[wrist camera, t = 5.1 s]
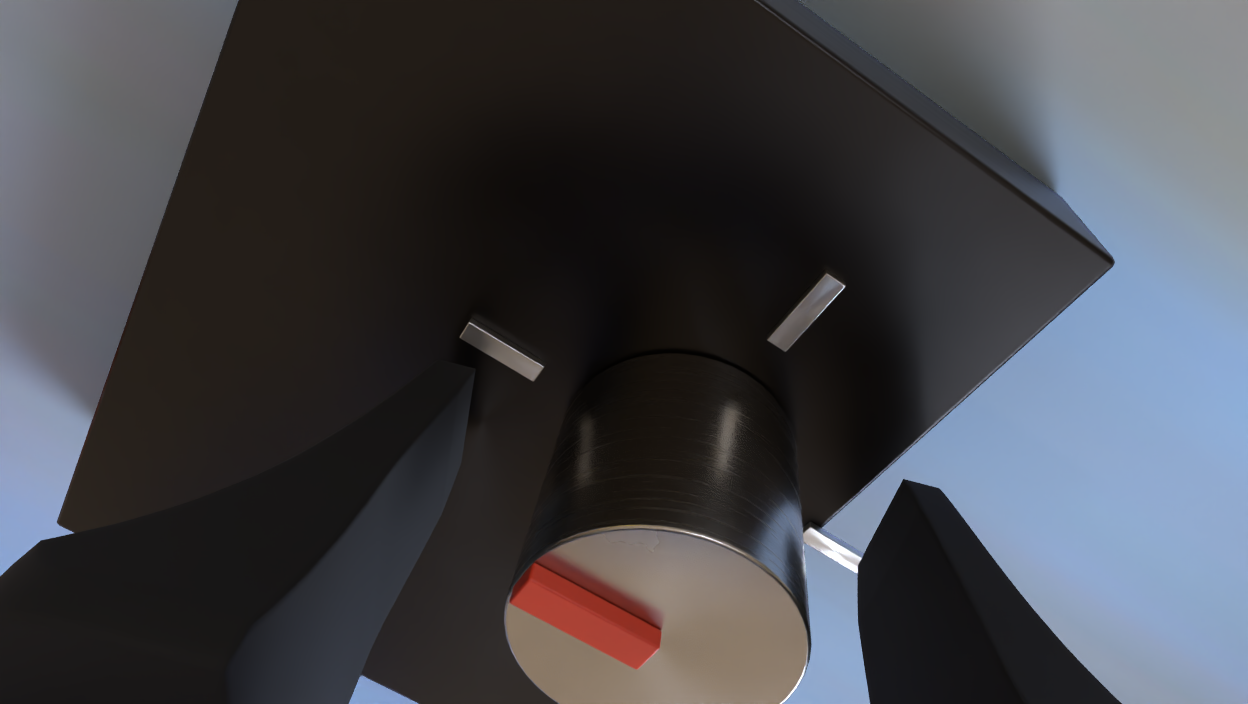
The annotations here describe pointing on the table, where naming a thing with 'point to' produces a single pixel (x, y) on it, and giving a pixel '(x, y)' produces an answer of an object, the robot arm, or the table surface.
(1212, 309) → the table surface
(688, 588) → the dial
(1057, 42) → the table surface
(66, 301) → the table surface
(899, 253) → the warming plate
